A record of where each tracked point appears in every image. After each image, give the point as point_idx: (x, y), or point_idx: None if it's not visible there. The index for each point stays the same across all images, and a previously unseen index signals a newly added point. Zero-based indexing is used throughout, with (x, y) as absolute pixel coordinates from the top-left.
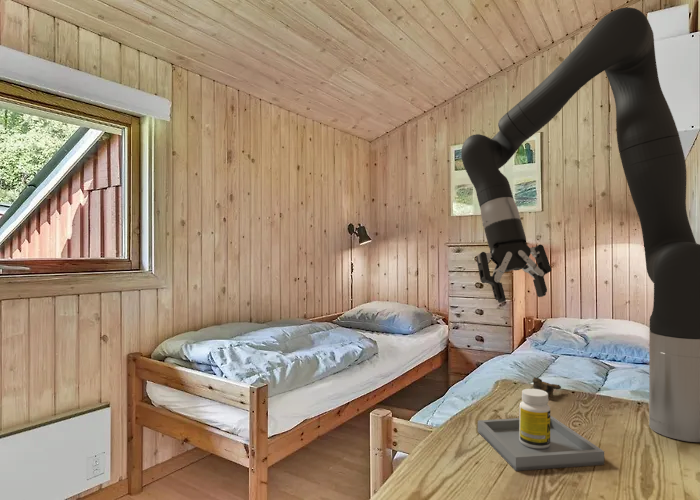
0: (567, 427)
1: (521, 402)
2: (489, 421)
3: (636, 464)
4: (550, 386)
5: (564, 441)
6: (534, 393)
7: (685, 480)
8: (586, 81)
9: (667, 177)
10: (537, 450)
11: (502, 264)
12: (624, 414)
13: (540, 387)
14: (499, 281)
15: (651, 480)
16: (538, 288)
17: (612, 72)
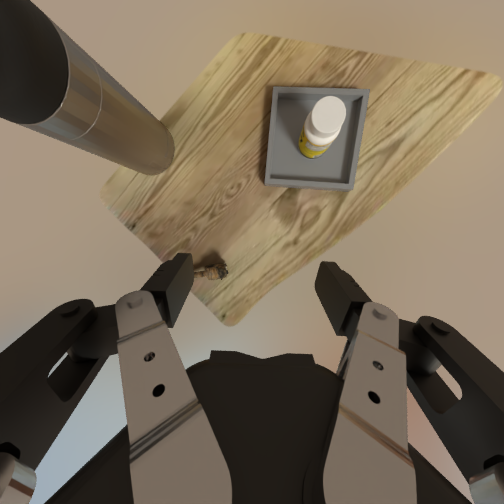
0: (269, 150)
1: (337, 131)
2: (341, 184)
3: (243, 91)
4: (208, 267)
5: (280, 143)
6: (332, 109)
7: (225, 54)
8: None
9: None
10: None
11: (394, 380)
12: (170, 201)
13: (223, 265)
14: (365, 303)
15: (254, 59)
16: (184, 281)
17: None
